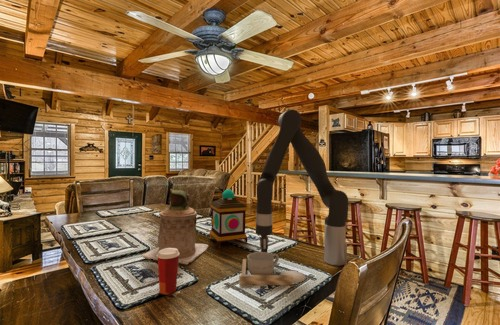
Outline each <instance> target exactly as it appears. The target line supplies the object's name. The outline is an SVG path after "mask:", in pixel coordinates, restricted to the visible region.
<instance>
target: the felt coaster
mask: <svg viewBox="0 0 500 325" xmlns="http://www.w3.org/2000/svg"><path fill="white" fill-rule="evenodd" d="M279 275H292V276H293V284H297V283H298V284H299V282H300V283H303V282H304V281H306V275H305V274H303V273H302V272H299V271H296V270H285V271H282V272H281V273H280V274H279ZM302 281H303V282H302Z"/></svg>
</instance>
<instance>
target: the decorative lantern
mask: <svg viewBox="0 0 500 325" xmlns="http://www.w3.org/2000/svg"><path fill="white" fill-rule="evenodd" d="M209 205H210V208H211V220H210V223H211V229H210V231H209V234H208V235H209V236H208V237H209V239H210V240H211V239H214V240H215V241H216V244H217V247H218V248H220V247H221V243H226V242H231V241H232V242H233V241H241V240H244V241H243V242H244V244H245V243H246V244H247V243H248V235H247V234H246V211H247V209H248V206H247V205H246V204H245V203H244V202H241V201H240V200H239V199H237V197H235V192H234V191H233V190H232V189H231V188H227V189H225V190H224V191H223V192H222V196H220V198H218V199H217V200H214V201H212V202H211V203H210V204H209Z"/></svg>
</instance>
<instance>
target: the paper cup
mask: <svg viewBox="0 0 500 325" xmlns="http://www.w3.org/2000/svg"><path fill="white" fill-rule="evenodd" d="M179 254H180V253H179V251H178V249H176V248H165V249H161V250H160V251H159V252H158V254H157V255H156V256H157V257H158V260H157V267H158V268H157V270H158V286H159V287H158V288H159V294H161V295H164V296H165V295H166V296H167V295H171V294H173V293H175V292H176V291H177V286H178V285H177V283H178V270H179V263H178V259H179Z"/></svg>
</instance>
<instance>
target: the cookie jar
mask: <svg viewBox="0 0 500 325" xmlns="http://www.w3.org/2000/svg"><path fill="white" fill-rule="evenodd" d="M169 196H170V197H169V201H170V206H168V207H167V208H165V210H162V211H159V217H160V224H159V228H158V229H159V230H158V237H157V243H158V247H156V248H154V249H151V250H149V251H147V252H145V253H142V256H141V257H142V258H143V259H144V258H146V259H145V260H151V259H153V260H152V261H158V257H157V256H156V255H157V254H158V252H159V251H160V250H161V249H165V248H176V249H178V251H179V253H180V254H179V259H178V264H182V265H189V263H193V262H194V261H195V259H197V258H198V257H199V256H200V255H202V254H203V253H204V252H205V251H207V250H208V249H209V244H207V243H197V242H196V241H197V236H198V231H197V221H198V219H197V215H198V213H197V211H196V210H195V209H194V208H193V207H190V206H189V203H188V202H190V201H191V200H192V198H191V195H190V194H189V193H187V192H186V191H185V190H183V189H182V190H180V189H177V190H174V189H172V188H170V194H169Z"/></svg>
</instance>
